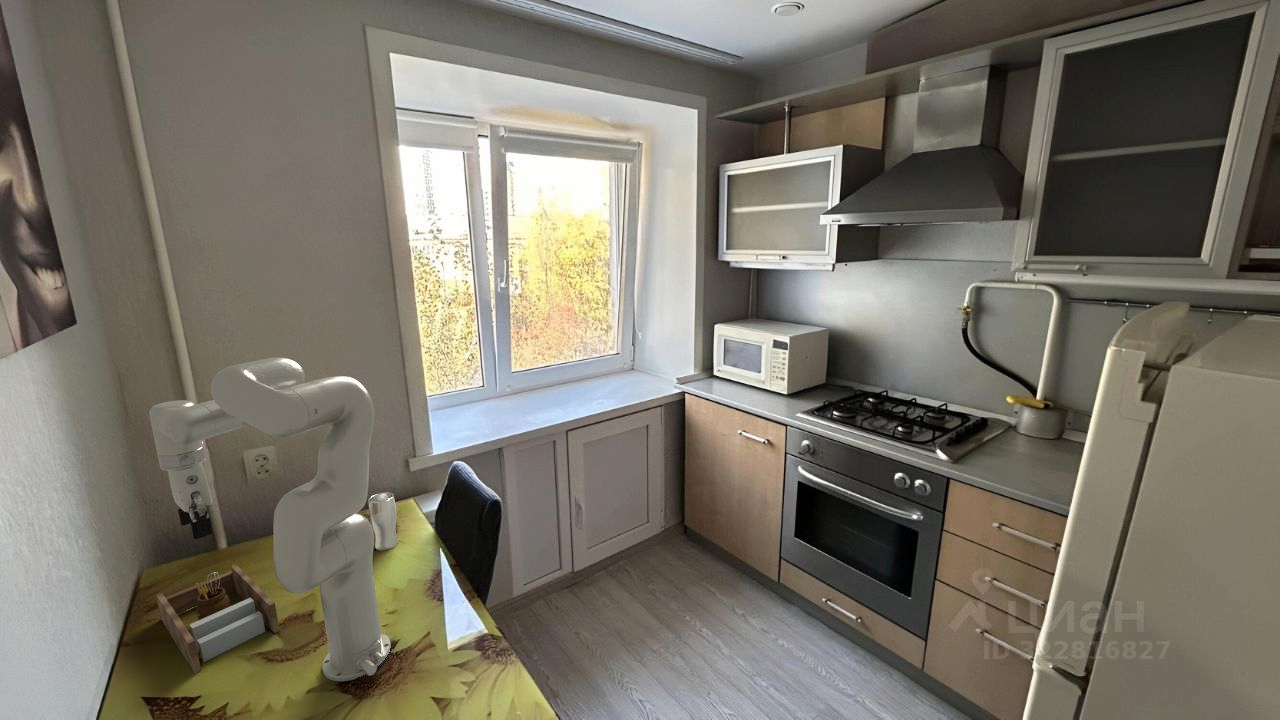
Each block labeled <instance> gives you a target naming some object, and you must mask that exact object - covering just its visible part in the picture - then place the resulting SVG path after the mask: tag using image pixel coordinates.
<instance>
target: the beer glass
mask: <svg viewBox="0 0 1280 720" xmlns="http://www.w3.org/2000/svg"><path fill="white" fill-rule="evenodd" d="M367 500H368V501H367V502H368V514H369V521H370V524H371V526H372V528H373V532H374V537H375V542H374V547H375V549H376V550H378V551H381V552H382V551H388V550H390V549H393V548H395V547H396V546H398V544H399V539H398V536H397V532H396V526H397V525H396V523H397V506H396V500H395V496H394V493H392V492H389V491H387V492H379V493H375V494H374V495H372V496H370V497H369V498H367Z"/></svg>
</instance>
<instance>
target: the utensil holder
mask: <svg viewBox="0 0 1280 720" xmlns="http://www.w3.org/2000/svg"><path fill="white" fill-rule="evenodd" d="M212 574H213V575H214V577H215V579H216V577H217V576H219V575H220V574H219V573H218V572H211V573H210V574H208V575H207V580H206V581H207V584H208V580H209V576H211V575H212ZM216 574H217V576H216ZM202 582H203V586H204V588H205V589H204V588H203V586H202V584H201V583H202ZM202 582H199V583H198V582H196V583H195V585H196V586H197V588H198V591H199V593H200V595H199V596H198V597H197V604H198V605H197V608H195V609H196V615H197V621H199V620H201V619H203V618H206V617H208V616H210V615H212V614H215V613H217V612H219V611H221V610H224V609H226V608H228V607H230V606H231V601H230V597H229V596H228V594H227V595H226V591H225V589H224V588H222V587H219V586H218V587H217V588H212V589H210V588H209V586H208V588H209V590H208V589H207V587H206V585H205V583H204V581H202ZM198 584H200V587H201V589H202V590H200V587H199V585H198ZM219 584H220V579H219ZM211 585H212V583H211ZM211 587H212V586H211Z"/></svg>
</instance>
